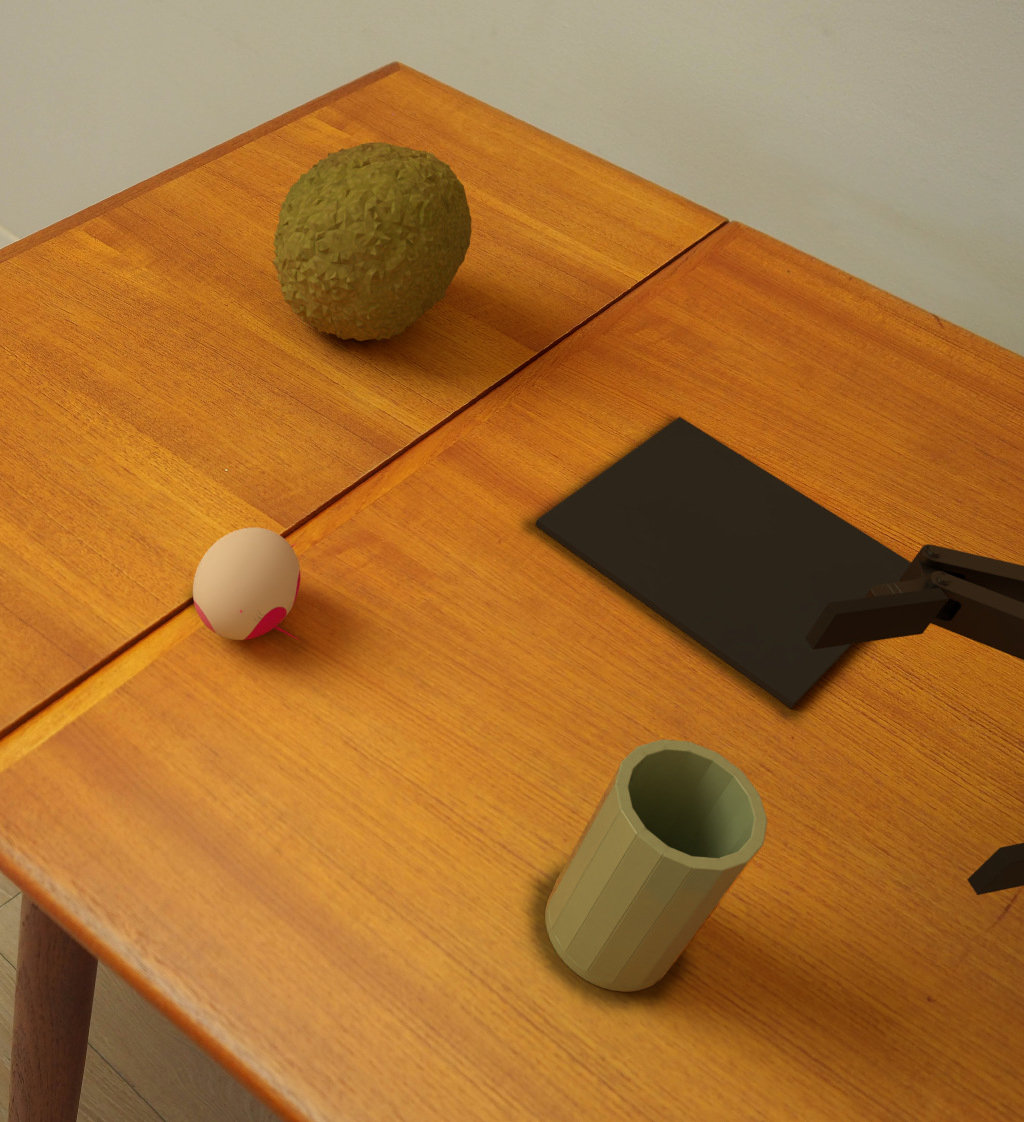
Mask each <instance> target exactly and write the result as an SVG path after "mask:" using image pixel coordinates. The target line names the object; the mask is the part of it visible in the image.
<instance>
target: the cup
mask: <svg viewBox="0 0 1024 1122" xmlns="http://www.w3.org/2000/svg"><path fill="white" fill-rule="evenodd" d="M767 827H768V817H767V814H766V811H765V807H764V804H763V800H762V797H761V794H760V793H759V791H758V790H757V789H756V787H755V786H754V784H753V783H752V782H751V780H750V779H749V778H748V777H747V775H746V774H745V772H744V771H743V770H741V769H740V768H739V767H737V766H736V765H735V764H733V762H731V761H730V760H728V759H727V758H726V757H724V756H723V755H722V754H720V753H719V752H717V751H715V750H712V749H710V748H707V747H705V746H702V745H699V744H697V743H695V742H693V741H689V740H677V739H665V738H664V739H663V738H662V739H658V740H654V741H651V742H648V743H644V744H641V745H638V746H636V747H635V748H634V749H633V750H632V751H631V752H630V753H628V755H627V756H625V758H623V760H621V762H620V763H619V765H618V767H617V769H616V771H615V773H614V775H613V777H612V778H611V780H610V782H609V784H608V785H607V787H606V789H605V791H604V792H603V795H602V797H601V799H600V800H599V802H598V804H597V806H596V807H595V809H594V811H593V813H592V815H591V816H590V819H589V820H588V822H587V824H586V825H585V827H584V829H583V831H582V834H580V837H579V839H578V841H577V842H576V844H575V846H574V848H573V849H572V852H571V853H570V855H569V857H568V859H567V861H566V862H565V864H564V866H563V868H562V869H561V871H560V873H559V875H558V877H557V878H556V880H555V882H554V884H553V887H552V889H551V892H550V894H549V896H548V898H547V901H546V906H545V913H544V915H545V916H544V918H545V919H544V920H545V927H546V932H547V935H548V938H549V940H550V943H551V944H552V946H553V948H554V950H555V952H556V953H557V955H558V956H559V957H560V959H561V961H563V963H564V964H565V965H566V966H567V967H568V968H569V969H570V970H571V971H573V973H575V974H576V975H577V976H579V977H580V978H582V979H584V980H585V981H586V982H589V983H591V984H592V985H594V986H597V987H599V988H602V989H605V990H610V991H614V992H638V991H641V990H644V989H647V988H649V987H652V986H654V985H656V984H657V983H658V982H659V981H661V980H662V979H663V978H664V977H665V975H667V973H668V972H669V970H670V969H671V968H672V966H674V965H675V963H676V962H677V961H678V959H679V958H680V957H681V956H682V954H683V953H684V951H685V950H686V949H687V947H688V946H689V945H690V944H691V942H692V941H693V940H694V939H695V937H696V935H697V934H698V933H699V931H700V930H701V929H702V928H703V926H704V925H705V923H706V922H707V921H708V920H709V919H710V917H711V916H712V914H713V913H714V912H715V910H716V909H717V907H718V906H720V904H721V903H722V901H723V900H724V898H725V897H726V895H727V894H728V893H729V892H730V890H731V889H732V888H733V886H734V885H735V883H736V882H737V881H738V879H739V878H740V877H741V876H742V874H743V873H744V872H745V870H746V869H747V868H748V867H749V865H750V863H751V862H752V861H753V860H754V858H755V856H757V854H758V853H759V852H760V851H761V849H762V847H763V846H764V844H765V839H766V834H767V833H766V832H767Z"/></svg>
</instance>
